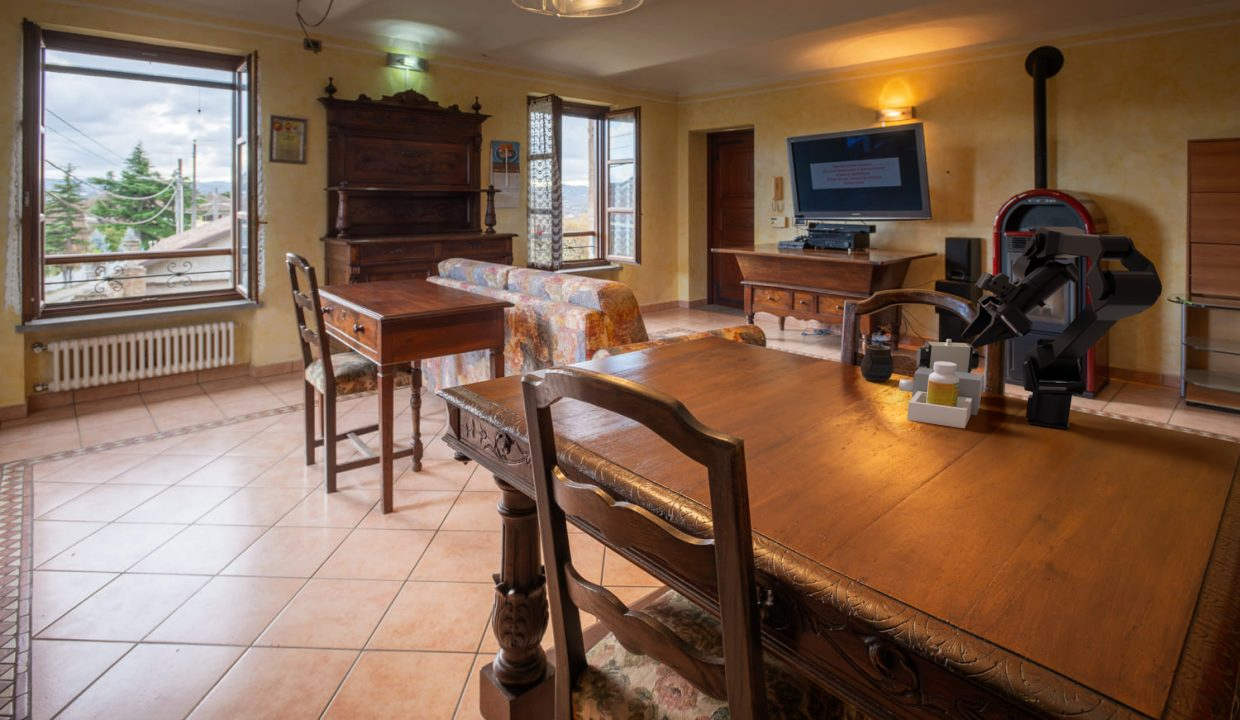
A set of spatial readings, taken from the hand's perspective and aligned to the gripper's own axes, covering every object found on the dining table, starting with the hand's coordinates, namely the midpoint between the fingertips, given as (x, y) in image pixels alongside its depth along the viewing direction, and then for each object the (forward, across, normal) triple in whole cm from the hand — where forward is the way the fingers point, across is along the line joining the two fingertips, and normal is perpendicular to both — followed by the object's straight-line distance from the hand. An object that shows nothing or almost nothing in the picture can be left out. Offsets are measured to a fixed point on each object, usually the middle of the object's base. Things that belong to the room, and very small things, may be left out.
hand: (967, 342), depth 139 cm
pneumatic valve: (+10, -12, +9) cm, 19 cm away
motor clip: (+14, +5, +5) cm, 16 cm away
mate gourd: (+20, -20, 0) cm, 29 cm away
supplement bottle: (+13, +8, +5) cm, 16 cm away
